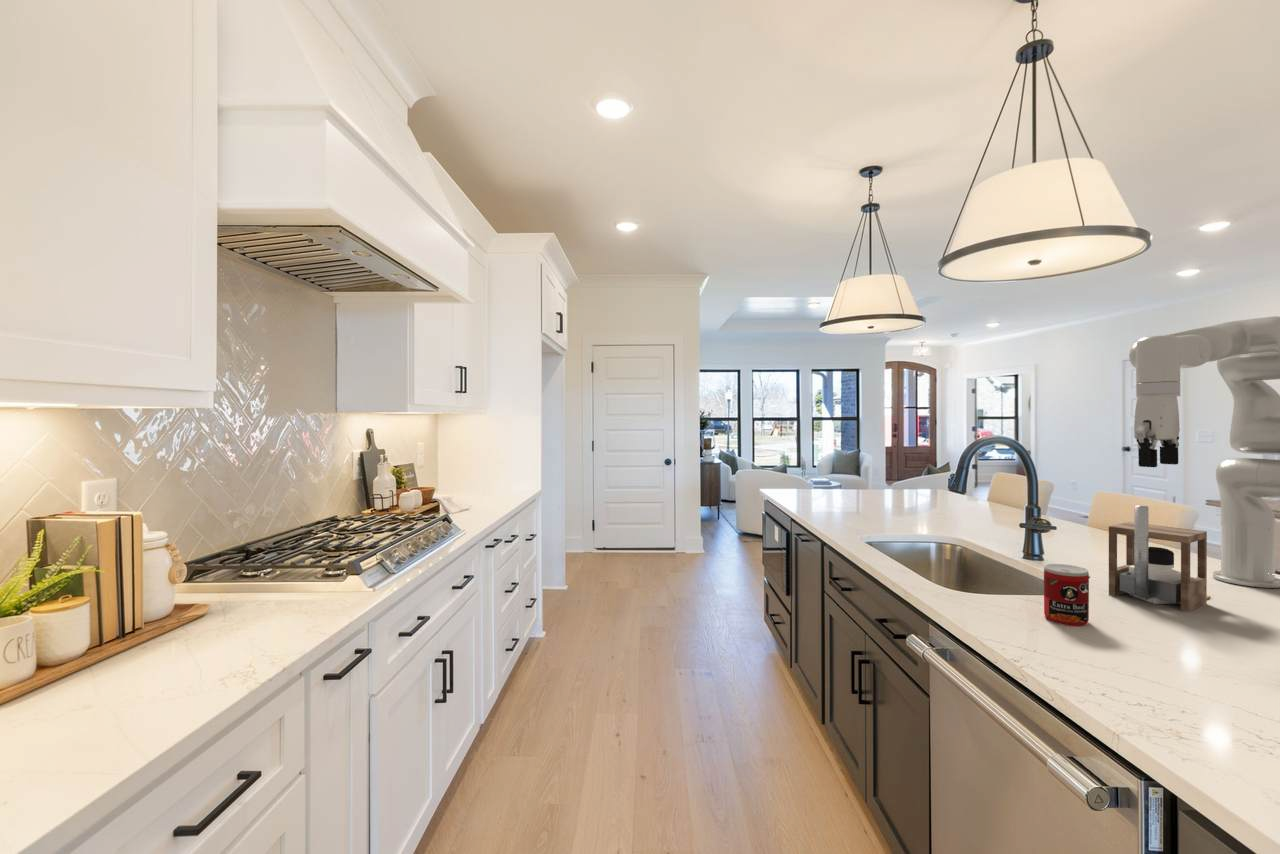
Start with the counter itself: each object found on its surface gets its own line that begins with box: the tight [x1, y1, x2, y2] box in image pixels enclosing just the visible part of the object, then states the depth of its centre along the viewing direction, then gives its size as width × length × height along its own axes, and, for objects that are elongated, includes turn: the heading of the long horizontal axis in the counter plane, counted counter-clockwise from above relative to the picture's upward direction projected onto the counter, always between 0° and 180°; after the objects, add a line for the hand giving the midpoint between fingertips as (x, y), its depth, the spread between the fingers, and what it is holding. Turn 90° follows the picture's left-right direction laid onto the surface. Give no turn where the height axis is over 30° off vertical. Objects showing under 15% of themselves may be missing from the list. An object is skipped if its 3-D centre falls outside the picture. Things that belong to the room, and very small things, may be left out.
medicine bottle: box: [1128, 546, 1181, 605], centre depth 134 cm, size 7×7×12 cm
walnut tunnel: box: [1108, 521, 1208, 613], centre depth 134 cm, size 11×14×16 cm
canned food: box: [1043, 563, 1090, 627], centre depth 122 cm, size 8×8×11 cm
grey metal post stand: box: [1120, 504, 1195, 602], centre depth 133 cm, size 14×10×21 cm
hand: (1158, 465), depth 132 cm, fingers open, 9 cm apart
